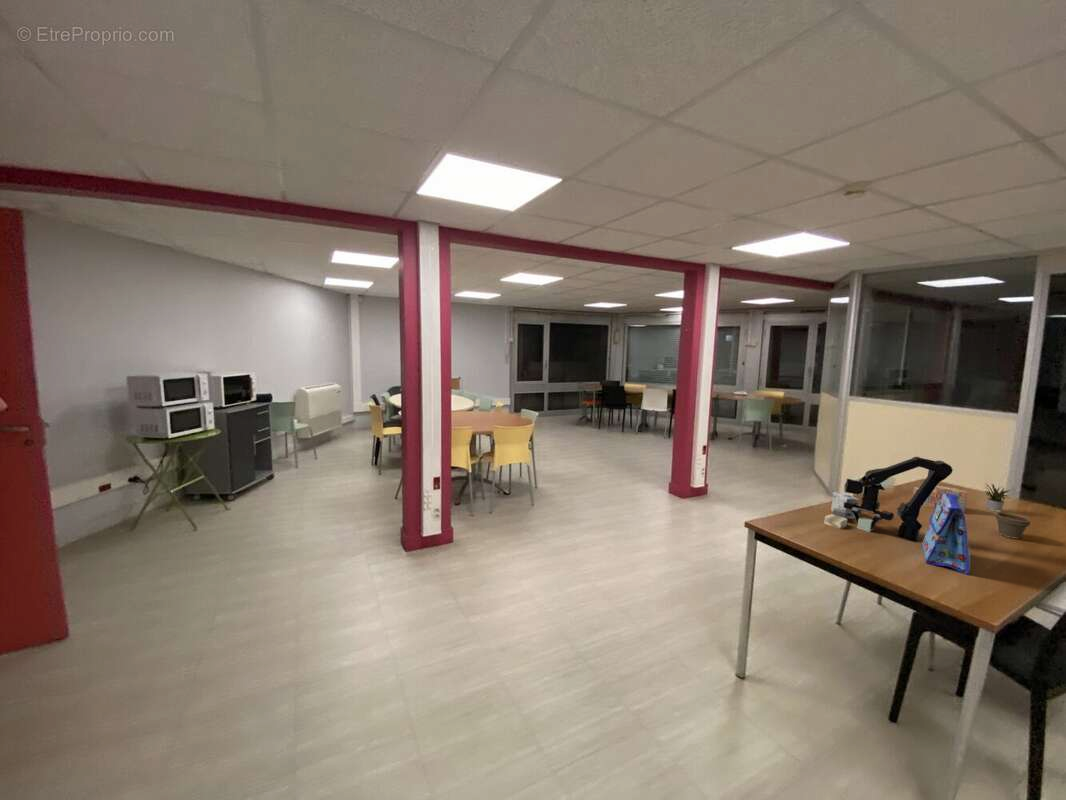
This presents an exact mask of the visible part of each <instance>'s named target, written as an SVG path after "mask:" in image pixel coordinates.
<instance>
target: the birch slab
mask: <svg viewBox="0 0 1066 800" xmlns="http://www.w3.org/2000/svg"><path fill="white" fill-rule="evenodd" d="M847 523H848V518H843V517H840V516H837V515H833V513H831V514H828V515H825V516H824V522H823V524H824V525H828V526H830V527H833V528H836V529H839V530H841V529H843V528H847Z"/></svg>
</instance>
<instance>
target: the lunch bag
mask: <svg viewBox="0 0 1066 800" xmlns="http://www.w3.org/2000/svg"><path fill="white" fill-rule="evenodd" d="M958 496H959V495H956V494H952V493H950V494H946V493H943V494H942V497H941V500H940V501H939V503H938V505H937V507H936V508H934V510H933V512H932V513H931V515H930V517H929V526H928V529H927V531H926V533H925V535H924V538H923V541H922V543H921V546H922V550H923V554H924V558H925V559H924V560H925V563H926V564H928V565H930V566H931V565H932V566H933V565H936V566H942V567H946V566H947V567H949V568H951V569H953V570H955V571H958V572H959V573H962V574H964V573H965V574H964V575H969V574H970V569H971V554H970V544H969V543H970V542H969V536H968V529H967V522H966V515H965V511H964V512H963V510H962V508H961V507H960V506H959V504H958V502H957V501H958Z"/></svg>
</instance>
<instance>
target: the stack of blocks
mask: <svg viewBox="0 0 1066 800" xmlns="http://www.w3.org/2000/svg"><path fill="white" fill-rule="evenodd" d="M919 488H920V487H917V486H914V487H913V491H912V495H911V496H912V497H913V496H914V494H915V493H916V492H917V490H918V489H919ZM943 493H946V494H950V493H952V494H956V495H959V496H958V501H957V502H958V504H959V506H960V507H961V508H962V510H963V512H964V513H965V508H966V503H967V499H968V497H967V496H968V492H967V491H966V490H964V489H958V488H955V487H947V486H942V485H937V486H936V487H935V489H934V490H933V491H932V493H931V494H930V495H929V497H928V498H927V499H926V501H925V502H924V503H923V506H922V507H926V506H930V507H929V508H931V507H935V508H934V509H936V507H937V505H938V503H939V501H940V500H941V497H942V494H943ZM912 497H911V498H912Z"/></svg>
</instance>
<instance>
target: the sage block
mask: <svg viewBox="0 0 1066 800" xmlns="http://www.w3.org/2000/svg"><path fill="white" fill-rule="evenodd" d="M872 521H873V518H869V517H865V516H861V517H860V518H859V519H858V523H857V526H856V527H857V530H858V529H859V530H862V531H865V532H867V533H870V532H872V531H874V528H873V529H871V525H872Z"/></svg>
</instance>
